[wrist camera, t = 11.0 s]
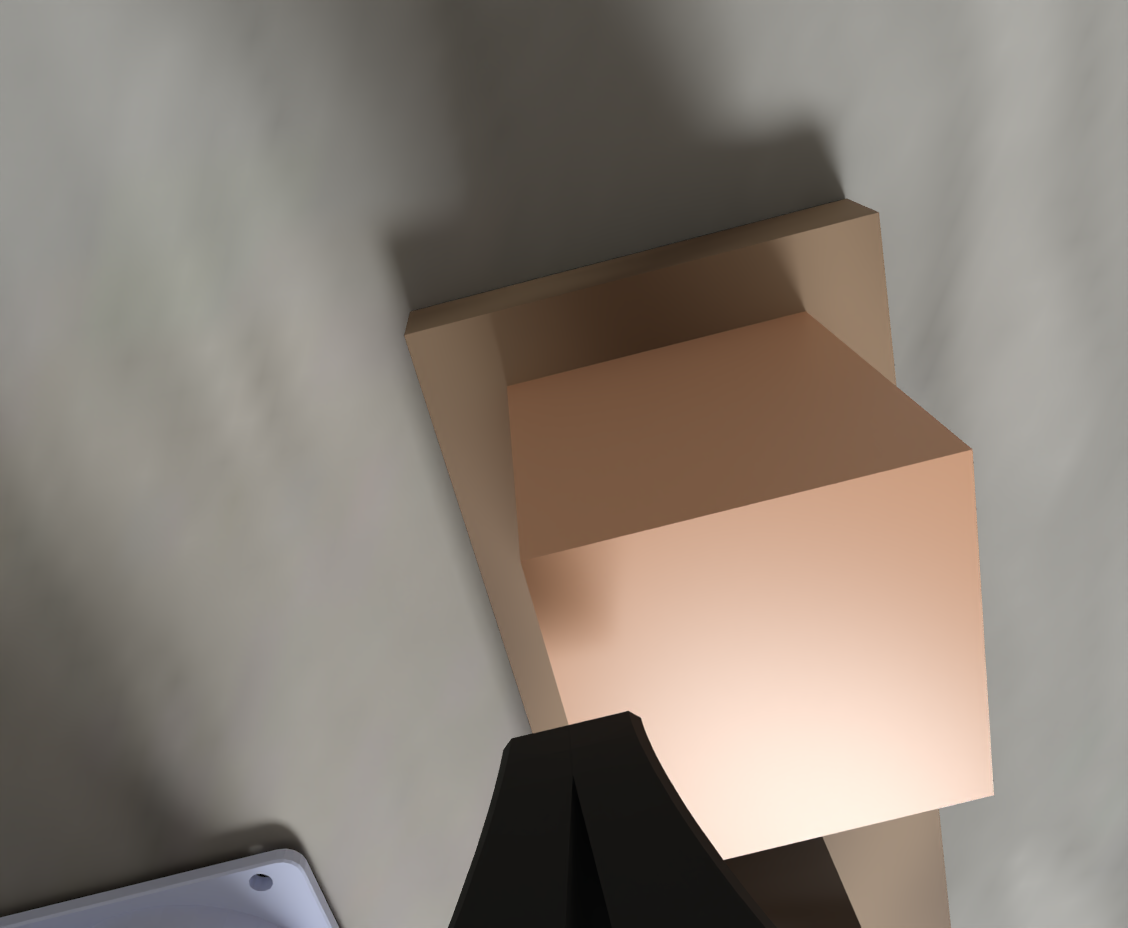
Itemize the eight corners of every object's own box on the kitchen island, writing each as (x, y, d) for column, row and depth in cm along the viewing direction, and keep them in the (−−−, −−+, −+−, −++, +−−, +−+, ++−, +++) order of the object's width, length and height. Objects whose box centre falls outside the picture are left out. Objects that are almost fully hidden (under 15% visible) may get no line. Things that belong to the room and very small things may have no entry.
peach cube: (575, 634, 18) (615, 885, 13) (506, 386, 16) (520, 561, 11) (840, 569, 18) (993, 795, 13) (805, 310, 16) (972, 449, 11)
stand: (621, 977, 25) (661, 1247, 19) (410, 311, 17) (377, 438, 12) (926, 904, 24) (1056, 1154, 19) (846, 198, 17) (1021, 273, 11)
